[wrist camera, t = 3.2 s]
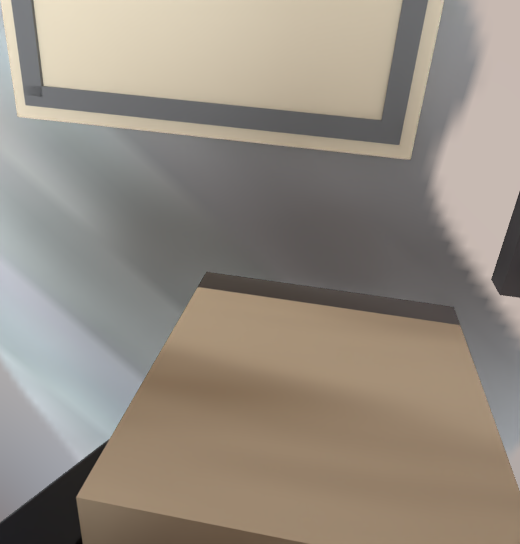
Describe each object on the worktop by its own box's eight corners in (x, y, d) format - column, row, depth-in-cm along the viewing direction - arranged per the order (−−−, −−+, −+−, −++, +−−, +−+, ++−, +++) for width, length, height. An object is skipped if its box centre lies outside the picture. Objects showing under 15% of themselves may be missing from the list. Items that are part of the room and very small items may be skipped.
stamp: (401, 482, 11) (453, 948, 5) (201, 446, 11) (63, 839, 6) (453, 307, 9) (622, 774, 3) (206, 272, 9) (0, 628, 4)
